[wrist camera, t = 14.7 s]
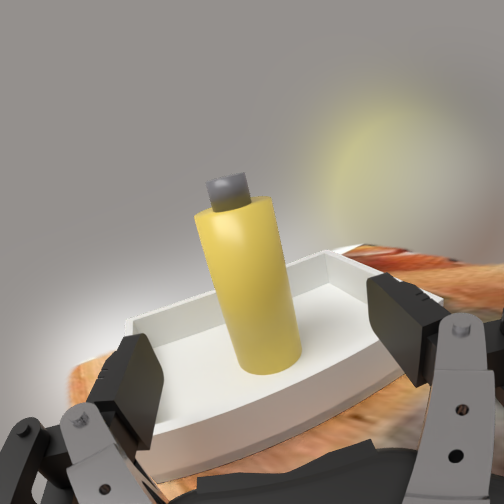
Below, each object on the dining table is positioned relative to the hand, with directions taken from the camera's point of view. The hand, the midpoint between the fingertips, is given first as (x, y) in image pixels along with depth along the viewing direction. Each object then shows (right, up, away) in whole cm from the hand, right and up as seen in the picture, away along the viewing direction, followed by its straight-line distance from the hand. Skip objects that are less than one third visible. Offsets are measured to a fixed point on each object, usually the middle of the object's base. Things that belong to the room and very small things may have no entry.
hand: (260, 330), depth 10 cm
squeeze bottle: (+1, -5, +13) cm, 15 cm away
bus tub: (+1, -6, +14) cm, 15 cm away
